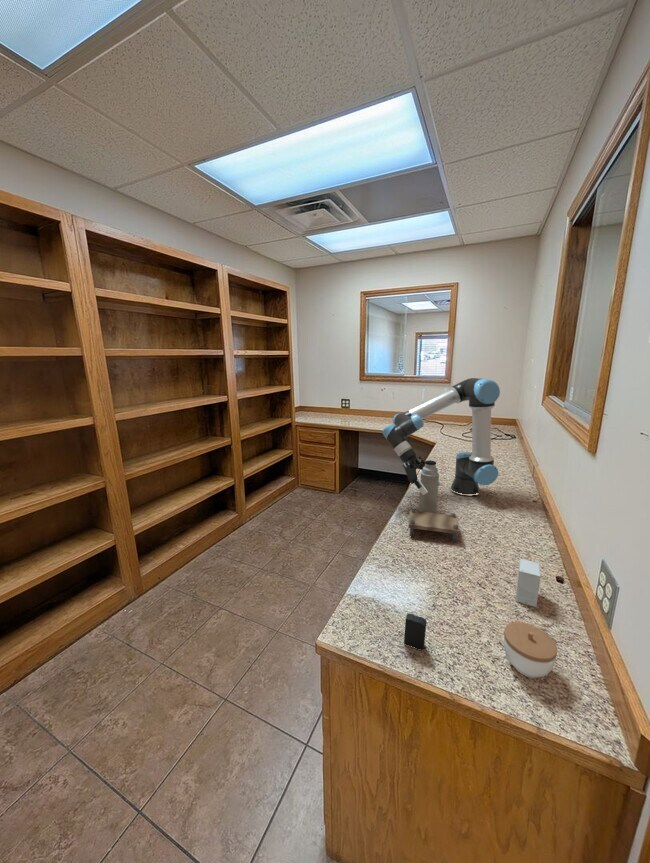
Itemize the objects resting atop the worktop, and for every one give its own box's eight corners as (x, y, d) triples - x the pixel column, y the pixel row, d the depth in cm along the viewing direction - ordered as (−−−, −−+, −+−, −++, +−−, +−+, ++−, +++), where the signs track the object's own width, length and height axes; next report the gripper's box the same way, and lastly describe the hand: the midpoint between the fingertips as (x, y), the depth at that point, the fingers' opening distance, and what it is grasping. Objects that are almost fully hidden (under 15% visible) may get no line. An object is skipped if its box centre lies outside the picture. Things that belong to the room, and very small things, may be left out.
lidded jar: (504, 678, 76) (508, 644, 74) (498, 642, 85) (502, 611, 84) (559, 694, 72) (565, 658, 70) (546, 655, 82) (551, 622, 80)
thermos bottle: (423, 512, 161) (426, 458, 155) (438, 517, 155) (442, 461, 150) (415, 518, 155) (418, 461, 150) (431, 523, 150) (435, 465, 144)
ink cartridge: (424, 644, 85) (427, 618, 83) (423, 651, 83) (425, 624, 81) (405, 638, 87) (407, 612, 85) (403, 644, 85) (405, 618, 83)
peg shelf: (455, 528, 145) (456, 513, 144) (458, 544, 132) (460, 528, 131) (409, 522, 151) (410, 507, 149) (408, 537, 138) (408, 521, 136)
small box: (536, 608, 97) (540, 576, 95) (515, 601, 100) (518, 570, 98) (536, 592, 104) (540, 563, 102) (516, 586, 107) (519, 557, 105)
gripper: (413, 451, 169) (439, 486, 162) (386, 462, 152) (413, 501, 145) (423, 443, 165) (450, 478, 157) (396, 453, 147) (425, 493, 140)
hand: (432, 489), depth 151 cm, fingers open, 13 cm apart
